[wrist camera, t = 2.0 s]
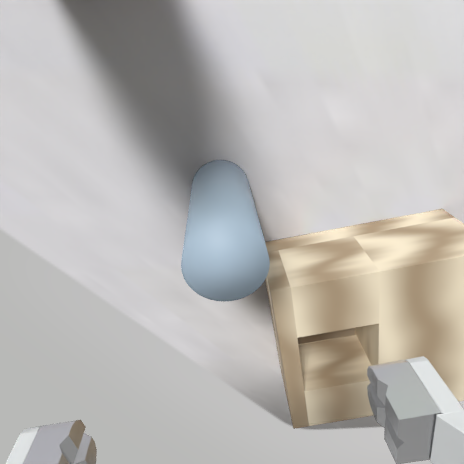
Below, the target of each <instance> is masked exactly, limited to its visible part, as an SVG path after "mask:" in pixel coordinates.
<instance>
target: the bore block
mask: <svg viewBox="0 0 464 464" xmlns="http://www.w3.org/2000/svg"><path fill="white" fill-rule="evenodd" d="M265 244H266V248H267V251H268V255H269V261H270V265H269V271H268V274H267V277H266V279H265V281H266V287H267V292H268V298H269V304H270V310H271V316H272V321H273V327H274V333H275V339H276V345H277V350H278V356H279V362H280V368H281V373H282V377H283V382H284V387H285V391H286V396H287V400H288V405H289V410H290V414H291V419H292V424H293V428H300V427H307V426H313V425H319V424H325V423H331V422H337V421H343V420H349V419H355V418H361V417H367V416H373V415H374V414H373V412H372V409H371V406H370V403H369V398H368V390H367V386H368V385H369V384H370V383H371V382H370V380H369V378H368V376H367V369H368V367H369V366H373V365H378V364H383V363H388V362H393V361H398V360H406V359H411V358H416V357H421V356H424V357H425V358H427V359H428V360H429V362H430V363H431V364H432V366H433V367H434V368H435V370H436V371H437V373H438V374H439V375H440V377H441V378H442V379H443V381H444V382H445V384H446V385H447V386H448V388H449V389H450V390H451V392H452V393H453V395H454V396H455V397H456V399H457V400H458V401H464V224H463V223H462V222H460V221H459V220H458V219H456V218H455V217H453V216H452V215H450V214H449V213H448V212H446V211H445V210H443V209H439V210H434V211H429V212H423V213H418V214H413V215H407V216H402V217H397V218H391V219H386V220H381V221H375V222H370V223H365V224H359V225H354V226H349V227H343V228H338V229H333V230H327V231H322V232H317V233H311V234H306V235H301V236H295V237H290V238H285V239H279V240H274V241H268V242H265Z"/></svg>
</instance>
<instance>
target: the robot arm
mask: <svg viewBox="0 0 464 464" xmlns="http://www.w3.org/2000/svg"><path fill="white" fill-rule="evenodd" d="M367 376H368V378H369V380H370V382H371V383H370V384H369V385H368V386H367V390H368V398H369V403H370V406H371V409H372V412H373V414H374V417H375V419H376V421H377V423H379V424H380V425H381V426H383V427H384V428H385V441H386V443H387V445H388V447H389V449H390V451H391V454H392V455H393V458H394V460H395V462H396V464H401V463H408V462H415V461H423V460H430V461H431V463H433V464H464V408H463V407H462V406H461V404H460V403H459V401H458V400H457V399H456V397H455V396H454V395H453V393H452V392H451V390H450V389H449V388H448V386H447V385H446V384H445V382H444V381H443V379H442V378H441V377H440V375H439V374H438V373H437V371H436V370H435V368H434V367H433V366H432V364H431V363H430V362H429V360H428V359H427V358H425V357H424V356H421V357H416V358H411V359H406V360H398V361H393V362H388V363H383V364H378V365H373V366H369V367H368V369H367ZM84 430H85V426H84V424H83V422H82V421H81V420H76V421H71V422H64V423H57V424H51V425H45V426H38V427H33V428H27V429H25V430H24V431H23V432H22V433H21V434H20V435H19V437H18V439H17V441H16V443H15V445H14V447H13V449H12V451H11V453H10V455H9V457H8V459H7V461H6V463H5V464H96V446H95V442H94V440H93V438H92V437H91V436H89V435H87V434H85V433H84Z"/></svg>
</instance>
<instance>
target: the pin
mask: <svg viewBox="0 0 464 464" xmlns="http://www.w3.org/2000/svg"><path fill="white" fill-rule="evenodd" d="M269 265H270V261H269V255H268V251H267V248H266V244H265V240H264V237H263V233H262V229H261V226H260V222H259V218H258V215H257V211H256V208H255V204H254V200H253V197H252V193H251V189H250V186H249V182H248V179H247V176H246V174H245V173H244V171H243V170H242V169H241V168H240V167H239V166H238V165H236V164H234V163H232V162H230V161H225V160H216V161H212V162H209V163H207V164H205V165H203V166H202V167H201V168H200V169H199V170H198V171H197V173H196V174H195V176H194V179H193V182H192V189H191V196H190V203H189V211H188V218H187V225H186V233H185V240H184V247H183V254H182V262H181V268H182V274H183V276H184V279H185V281H186V282H187V284H188V285H189V286H190V288H191V289H192V290H194V291H195V292H196V293H197V294H199V295H201V296H203V297H205V298H208V299H211V300H215V301H234V300H238V299H241V298H244V297H246V296H248V295H250V294H252V293H253V292H254V291H256V290H257V289H258V288H259V287H260V286H261V285H262V284H263V282H264V281H265V279H266V277H267V274H268V271H269Z"/></svg>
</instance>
